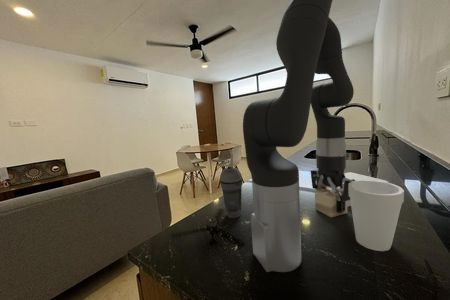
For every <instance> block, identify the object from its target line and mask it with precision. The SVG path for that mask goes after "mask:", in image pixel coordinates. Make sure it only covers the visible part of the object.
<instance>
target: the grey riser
mask: <svg viewBox="0 0 450 300" xmlns="http://www.w3.org/2000/svg"><path fill="white" fill-rule="evenodd" d="M344 175H345V178H348V179H350V180H351V179H354V180H355V181H358V180H373V181H382V182H386V183H390V181H388V180H384V179H382V178H377V177H376V178H375V177H372V176H368V175H363V174H359V173H356V172H351V171H349V172H344ZM316 184H317V181H316ZM343 184H344V183H343ZM327 188H330V187H328V186H327ZM339 188H340V187H337V189H339ZM315 191H316V189H314V192H315ZM348 207H351V201H350V200H348V201H347V208H348Z"/></svg>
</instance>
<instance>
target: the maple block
mask: <svg viewBox="0 0 450 300" xmlns="http://www.w3.org/2000/svg"><path fill="white" fill-rule="evenodd" d="M339 193H340V192H339ZM340 196H341V193H340ZM336 200H337V198H336V195H335V193H333V191H332V189H331V188H326V189H321V190H316V191H315V190H314V201H315V204H314V205H315V206H314V207H315V208H314V209H315V210H316V211H318V212H320V213H322V214H324V215H326V216H327V217H329V218H335V217H338V216H342V215H345V214H348V206H347V201H345V211H344V212H342V213H338V212H337V211H336Z"/></svg>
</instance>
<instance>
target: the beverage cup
mask: <svg viewBox="0 0 450 300" xmlns="http://www.w3.org/2000/svg"><path fill="white" fill-rule="evenodd" d="M233 157H234V156H233V153H230V166H228V167H226V168H224V169H223V170H222V171H221V173H220V175H219V176H220V177H219V184H220V187H221V190H222V196H223V201H224V207H225V212H226V216H227V217H228V218H231V219H236V218H239V217H241V215H242V189H243V188H242V186H243V181H244V180H243V176H242V173H241V171H240V170H239V169H238V168H236V167H235V166H233V159H234V158H233Z"/></svg>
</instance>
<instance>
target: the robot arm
mask: <svg viewBox="0 0 450 300" xmlns="http://www.w3.org/2000/svg"><path fill="white" fill-rule="evenodd" d="M333 1H334V0H291V1H290V2H289V4H288V6H287V8H285V11H284V12H283V16H282V19H281V22H280V25H279V29H278V32H277V36H276V40H275V41H276V43H275V44H276V50H277V54H278V56H279V58H280V60H281V63H282V65H283V67H284V69H285V71H286V79H285V85H284V87H283V91H282V93H281V94H280V96H278V97H277V96H276V97H271V98H267V99H266V98H265V99H260V100H256V101H253V102H251V103H250V104H248V105H247V107H246V109H245V110H244V113H243V116H242V117H243V118H242V134H243V142H244V151H245V158H246V159H245V160H246V165H247V168H248V170H249V172H250V175H251V183H252V184H251V187H252V200H253V201H252V202H253V212H252V213H250V225H251V226H250V228H251V238H252V241H251V243H252V252H253V253H252V254H253V255H254V256H255V258H256V259H257V260H258V262H259V264H261V266H262V267H263V269H264V270H265V272H266V273H270V272H278V273H288V272H289V273H290V272H292V271H295V270H296V269H297V268H298V267H299V266H300V265H301V263H302V243H301V242H302V239H301V237H302V236H301V235H302V234H301V209H300V207H301V206H300V204H301V203H300V175H299V174H300V172H299V167H298V166H297V165H296V164H295V163H294V162H292V161H291V160H288V159H287V158H285V157H284V156H282V155H281V153H280V152H279V151H278V149H277V148H292V147H296V146H298V145H299V144H300V143H301V141H302V140H303V138H304V137H305V133H306V132H307V127H308V121H309V116H310V110H311V109H312V113H313V115H314V118H315V122H316V145H315V155H316V157H315V159H316V164H315V165H316V169H313V170H310V178H311V187H312V189H314V190H315V189H316V190H321V189H326V188H327V186H328V187H330V188H331V189H332V191H333V193H335V195H336V198H337V200H336V211H337V212H338V213H342V212H344V211H345V201H348V200H350V197H349V193H348V187H349V183H350V182H352V181H355V180H354V179H351V180H350V179H348V178H345V175H344V173H345V170H346V168H347V144H346V142H347V141H346V119H345V118H344V116H340V115H334V114H331V112H329V108H336V107H337V108H338V107H344V106H347V105H348V104H350V103H351V102H352V99H353V97H354V94H355V90H354V86H353V83H352V80H351V79H350V76H349V73H348V72H347V69H346V66H345V63H344V59H343V49H342V38H341V33H340V30H339V28H338V26H337V24H336V23H335V22H334V21H333V19H332V18H330V17H329V16H330V12H331V7H332V5H333ZM315 75H328V76H329V78H330V79H331V80H330V81H326V82H322V83H318V84H316V85H314V80H315ZM316 181H317V184H316ZM343 183H344V184H343ZM337 187H340V188H339V189H337ZM339 192H340V193H341V196H340V193H339Z"/></svg>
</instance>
